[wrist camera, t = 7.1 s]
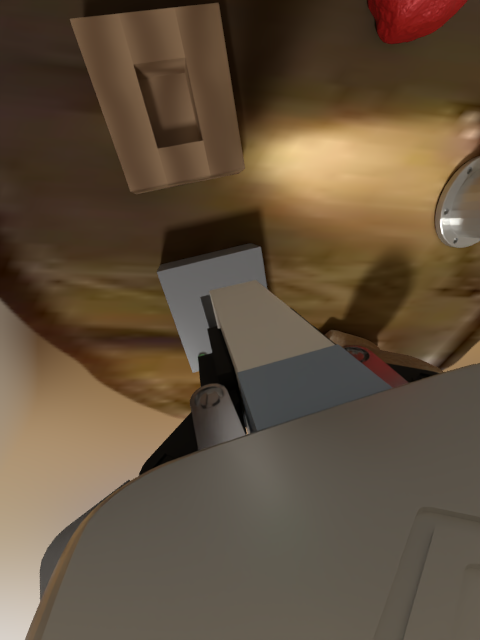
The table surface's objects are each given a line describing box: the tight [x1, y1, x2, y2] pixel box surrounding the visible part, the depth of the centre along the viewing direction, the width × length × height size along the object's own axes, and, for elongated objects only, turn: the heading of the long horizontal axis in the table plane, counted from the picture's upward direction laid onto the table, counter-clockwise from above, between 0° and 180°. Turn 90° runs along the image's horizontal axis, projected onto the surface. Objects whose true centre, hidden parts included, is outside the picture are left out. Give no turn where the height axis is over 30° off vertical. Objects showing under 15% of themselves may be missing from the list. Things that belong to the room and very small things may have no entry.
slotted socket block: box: [70, 3, 245, 194], centre depth 23 cm, size 12×12×3 cm
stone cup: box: [325, 330, 443, 373], centre depth 35 cm, size 15×12×15 cm
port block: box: [157, 243, 267, 372], centre depth 31 cm, size 12×14×5 cm
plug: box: [209, 280, 392, 434], centre depth 11 cm, size 3×5×11 cm
